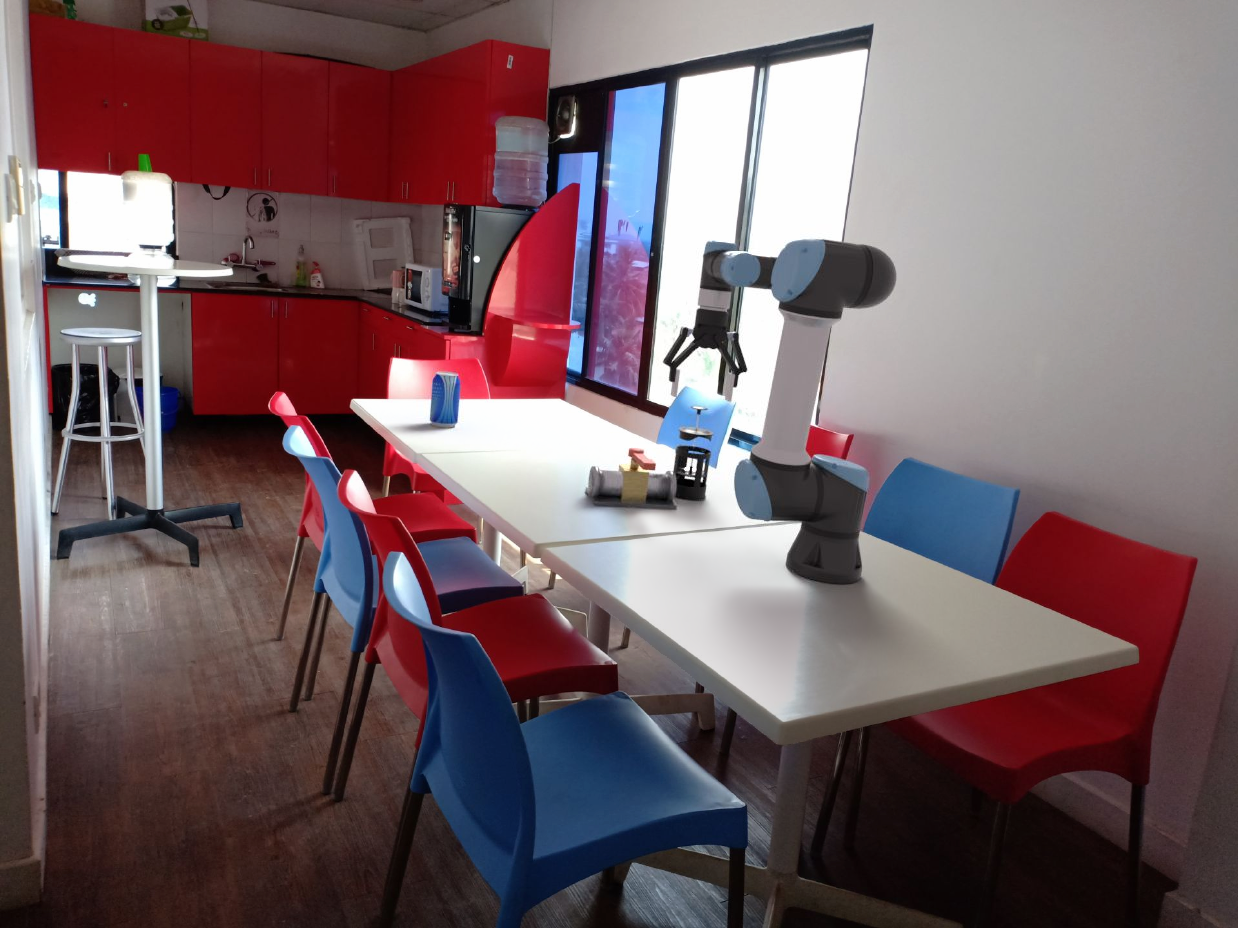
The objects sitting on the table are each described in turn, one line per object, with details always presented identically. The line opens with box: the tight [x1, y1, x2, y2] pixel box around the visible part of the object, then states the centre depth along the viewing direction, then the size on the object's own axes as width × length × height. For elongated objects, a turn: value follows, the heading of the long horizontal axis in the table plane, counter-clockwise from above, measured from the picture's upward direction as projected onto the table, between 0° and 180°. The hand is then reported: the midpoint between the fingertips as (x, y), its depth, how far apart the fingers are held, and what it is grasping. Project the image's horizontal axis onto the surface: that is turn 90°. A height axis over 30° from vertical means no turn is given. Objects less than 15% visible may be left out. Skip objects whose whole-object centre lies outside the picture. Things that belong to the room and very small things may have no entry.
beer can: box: [429, 371, 462, 429], centre depth 281 cm, size 8×8×16 cm
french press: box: [672, 405, 715, 502], centre depth 233 cm, size 12×9×23 cm
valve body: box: [584, 457, 678, 511], centre depth 223 cm, size 20×12×10 cm, turn 103°
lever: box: [627, 447, 657, 471], centre depth 216 cm, size 15×4×2 cm, turn 13°
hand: (701, 398), depth 221 cm, fingers open, 13 cm apart
